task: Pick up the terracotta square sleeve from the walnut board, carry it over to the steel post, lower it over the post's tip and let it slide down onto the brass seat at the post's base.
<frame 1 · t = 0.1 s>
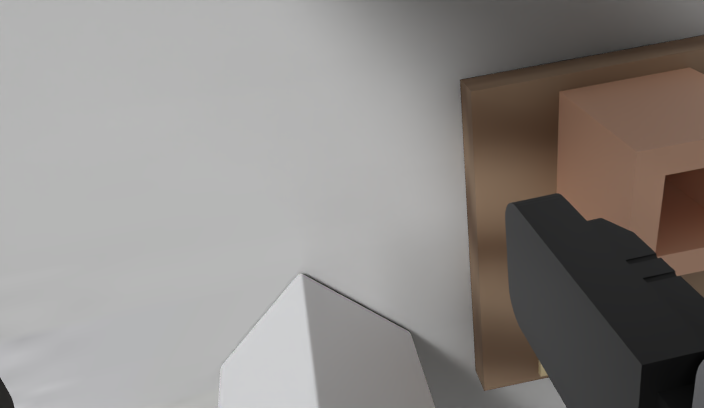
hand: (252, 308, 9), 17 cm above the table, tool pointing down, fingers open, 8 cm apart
milk carton: (315, 344, 33), on the table
sleeve: (619, 140, 27), point 1 cm above the table, touching post board
post board: (596, 220, 31), on the table
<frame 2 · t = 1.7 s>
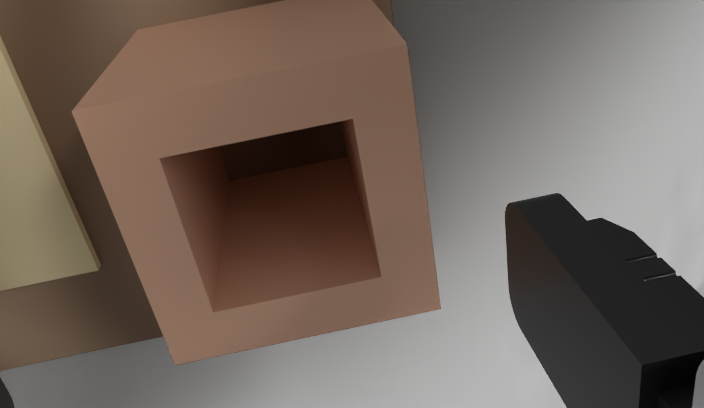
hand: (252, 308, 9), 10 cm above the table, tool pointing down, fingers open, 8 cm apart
sleeve: (274, 112, 17), point 1 cm above the table, touching post board
post board: (103, 129, 18), on the table
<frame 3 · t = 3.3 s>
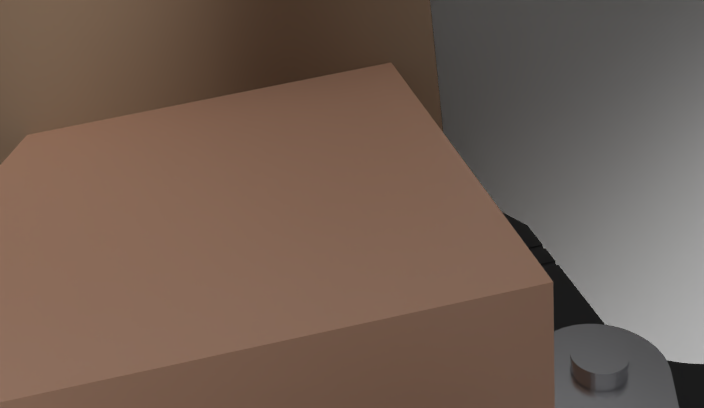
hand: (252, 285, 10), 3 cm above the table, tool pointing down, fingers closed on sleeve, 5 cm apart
sleeve: (254, 251, 11), point 2 cm above the table, touching gripper, post board
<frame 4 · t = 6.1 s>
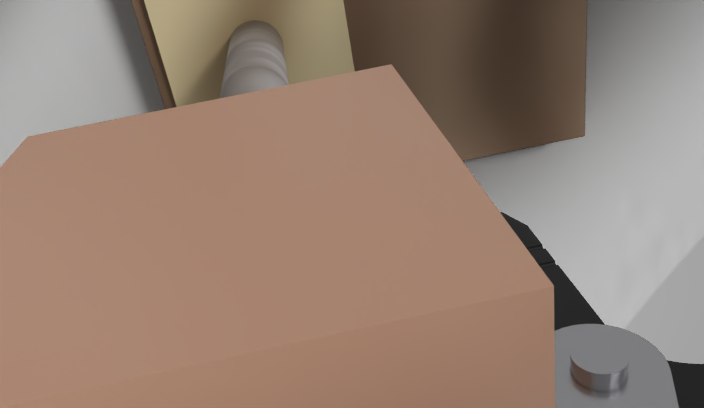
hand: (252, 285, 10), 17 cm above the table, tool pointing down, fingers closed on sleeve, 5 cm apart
sleeve: (254, 253, 11), point 16 cm above the table, touching gripper
post board: (366, 15, 25), on the table
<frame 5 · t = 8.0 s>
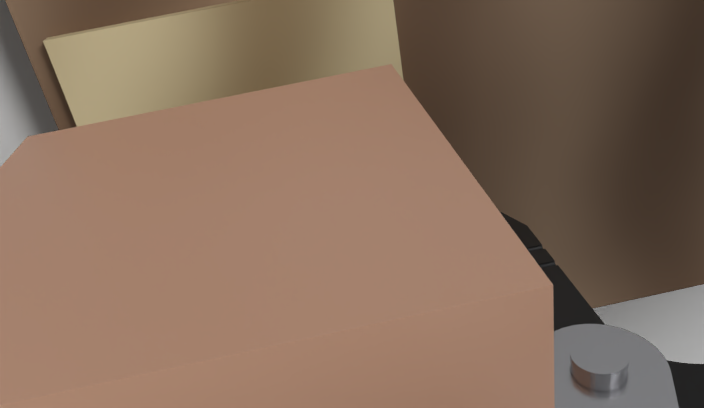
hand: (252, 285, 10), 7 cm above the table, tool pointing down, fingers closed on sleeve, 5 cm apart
sleeve: (254, 252, 11), point 6 cm above the table, touching gripper
post board: (433, 100, 16), on the table
when the fingers open (6 cm above the table, at t = 9.3 s): sleeve drops 3 cm, resting on post board.
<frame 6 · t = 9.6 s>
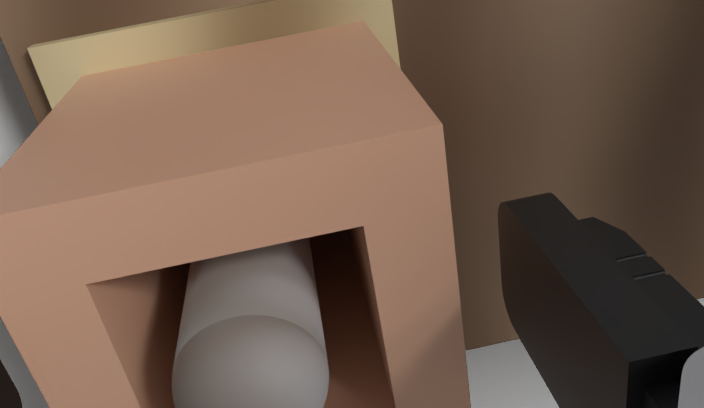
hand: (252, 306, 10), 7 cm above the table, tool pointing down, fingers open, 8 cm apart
sleeve: (257, 174, 14), point 2 cm above the table, touching post board
post board: (433, 108, 15), on the table
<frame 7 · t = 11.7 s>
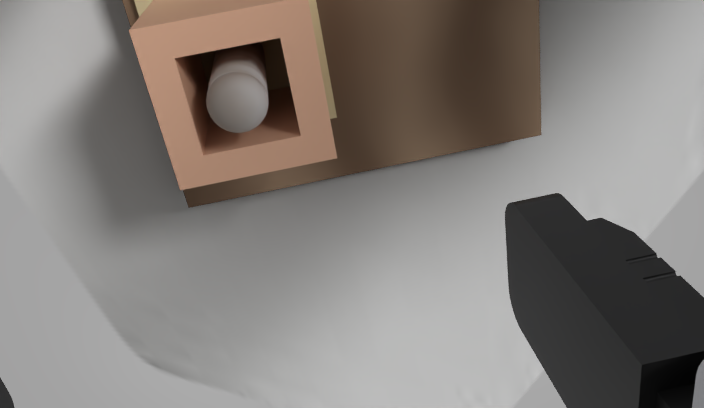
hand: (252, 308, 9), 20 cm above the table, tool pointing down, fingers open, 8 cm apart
sleeve: (242, 54, 26), point 2 cm above the table, touching post board
post board: (340, 26, 28), on the table
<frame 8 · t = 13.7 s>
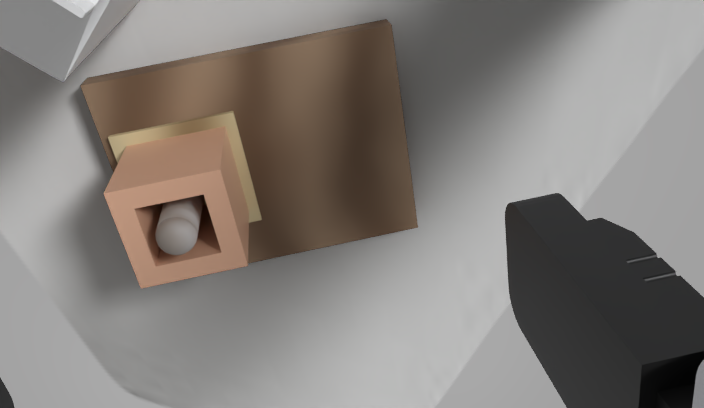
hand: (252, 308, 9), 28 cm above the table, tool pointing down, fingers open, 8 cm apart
sleeve: (190, 180, 37), point 2 cm above the table, touching post board
post board: (264, 153, 38), on the table
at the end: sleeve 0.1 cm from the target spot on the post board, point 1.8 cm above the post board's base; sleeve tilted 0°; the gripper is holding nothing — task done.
